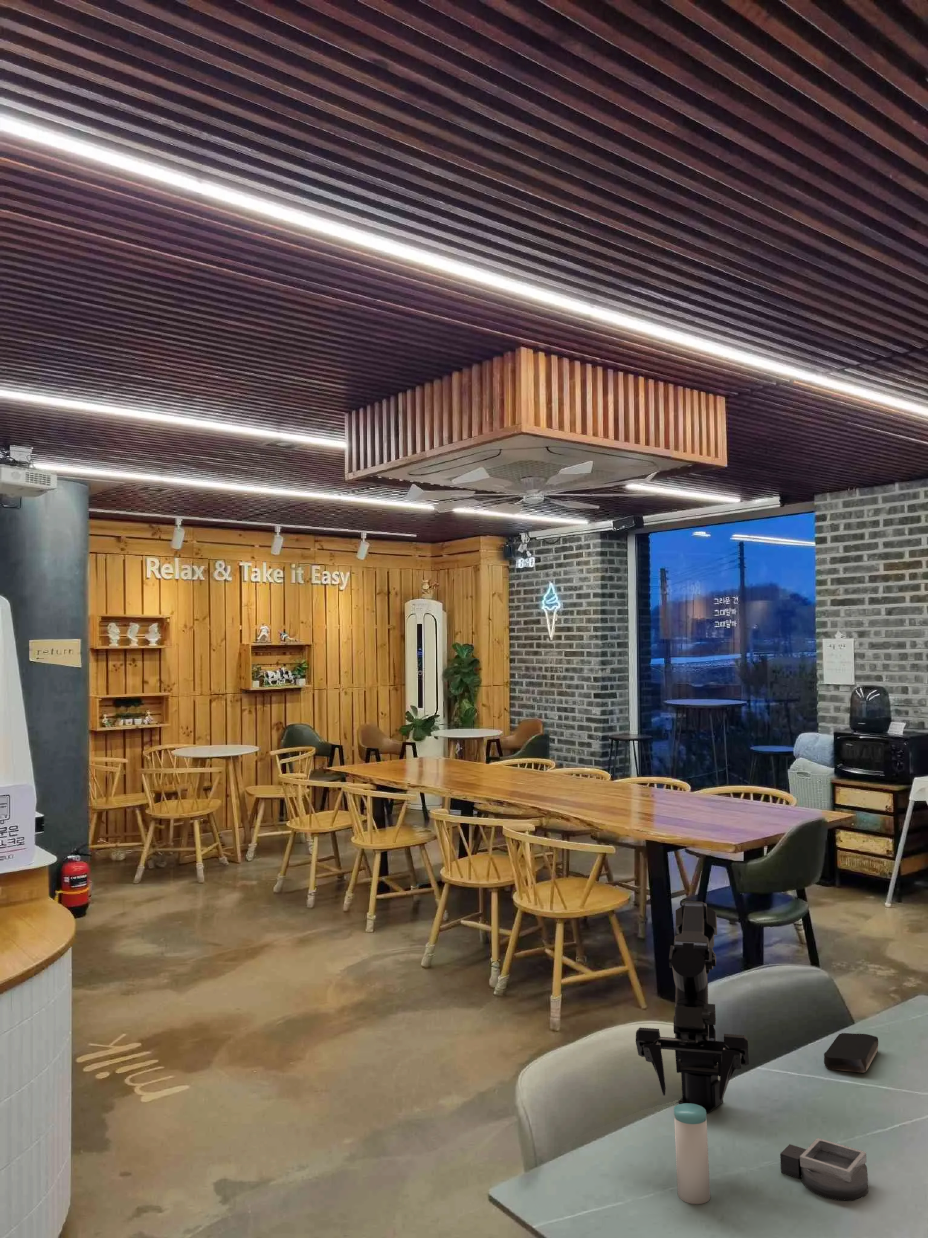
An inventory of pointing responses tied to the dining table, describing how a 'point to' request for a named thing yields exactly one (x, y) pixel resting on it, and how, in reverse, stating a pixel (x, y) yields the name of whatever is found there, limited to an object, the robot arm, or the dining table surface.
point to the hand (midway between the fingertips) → (692, 1097)
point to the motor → (828, 1169)
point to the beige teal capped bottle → (692, 1153)
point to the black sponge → (851, 1052)
